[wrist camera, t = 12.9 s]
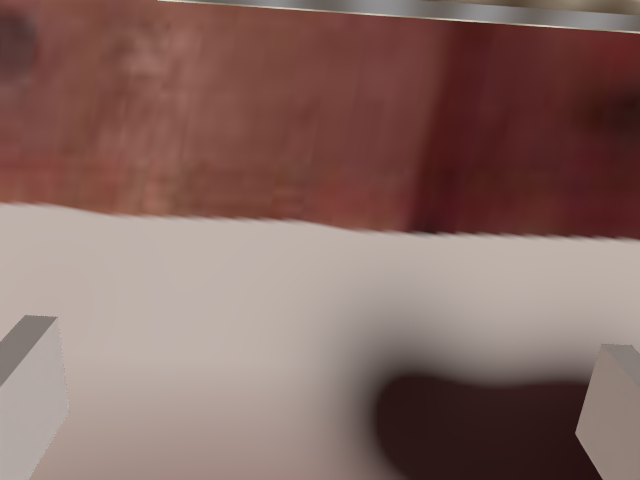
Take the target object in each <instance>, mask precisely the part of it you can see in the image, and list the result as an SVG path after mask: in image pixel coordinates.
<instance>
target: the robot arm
mask: <svg viewBox="0 0 640 480" xmlns="http://www.w3.org/2000/svg"><path fill="white" fill-rule="evenodd" d="M68 413H69V404H68V396H67V388H66V380H65V372H64V364H63V356H62V348H61V340H60V332H59V324H58V317H48V316H28V315H25V316H24V317H23V318H22V319H21V320H20V321H19V322H18V323H17V325H16V326H15V327H14V328H13V329H12V330H11V331H10V332H9V333H8V334H7V335H6V336H5V337H4V339H3V340H2V341H1V342H0V480H29V478H30V476H31V475H32V473H33V471H34V470H35V468H36V466H37V465H38V463H39V461H40V460H41V458H42V456H43V454H44V453H45V451H46V450H47V448H48V446H49V445H50V443H51V441H52V439H53V438H54V436H55V435H56V433H57V431H58V429H59V428H60V426H61V425H62V423H63V421H64V419H65V418H66V416H67V414H68ZM575 434H576V436H577V437H578V439H579V441H580V442H581V444H582V446H583V447H584V449H585V450H586V452H587V454H588V456H589V457H590V459H591V460H592V462H593V464H594V465H595V467H596V469H597V470H598V472H599V474H600V475H601V477H602V479H603V480H640V354H639V353H638V351H637V350H636V349H635V348H634V347H633V346H632V345H614V344H601V346H600V350H599V353H598V357H597V360H596V364H595V367H594V371H593V374H592V377H591V381H590V384H589V388H588V391H587V395H586V398H585V402H584V405H583V408H582V412H581V415H580V419H579V422H578V426H577V430H576V433H575Z"/></svg>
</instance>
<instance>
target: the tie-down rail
mask: <svg viewBox="0 0 640 480" xmlns="http://www.w3.org/2000/svg"><path fill="white" fill-rule="evenodd" d="M160 1H175V2H190V3H204V4H219V5H234V6H248V7H263V8H278V9H292V10H307V11H322V12H336V13H351V14H366V15H380V16H395V17H410V18H424V19H439V20H454V21H468V22H483V23H498V24H512V25H527V26H542V27H556V28H571V29H586V30H600V31H615V32H630V33H640V0H160Z"/></svg>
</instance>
